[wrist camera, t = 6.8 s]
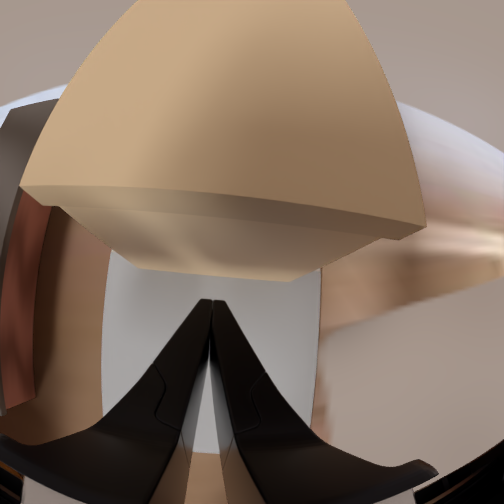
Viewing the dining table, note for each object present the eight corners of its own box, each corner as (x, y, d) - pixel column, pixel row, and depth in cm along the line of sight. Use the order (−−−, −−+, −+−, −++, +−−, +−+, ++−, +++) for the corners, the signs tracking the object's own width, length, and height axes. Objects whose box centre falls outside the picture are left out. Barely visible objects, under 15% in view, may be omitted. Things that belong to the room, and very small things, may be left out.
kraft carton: (292, 285, 16) (426, 226, 5) (134, 271, 15) (19, 185, 4) (291, 105, 20) (340, -8, 9) (176, 92, 18) (172, -30, 8)
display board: (304, 447, 14) (306, 449, 14) (107, 433, 13) (105, 436, 12) (312, 124, 20) (314, 121, 19) (152, 106, 18) (151, 102, 18)
